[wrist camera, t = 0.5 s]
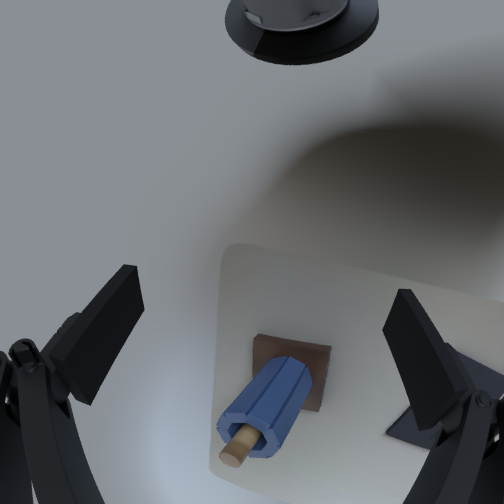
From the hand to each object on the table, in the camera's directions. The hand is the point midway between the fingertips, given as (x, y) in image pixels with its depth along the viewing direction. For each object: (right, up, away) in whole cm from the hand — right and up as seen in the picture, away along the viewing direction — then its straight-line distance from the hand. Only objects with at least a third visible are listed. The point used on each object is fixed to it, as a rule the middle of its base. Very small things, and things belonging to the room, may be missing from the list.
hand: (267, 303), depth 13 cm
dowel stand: (+4, -12, +18) cm, 22 cm away
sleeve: (+3, -12, +17) cm, 21 cm away
